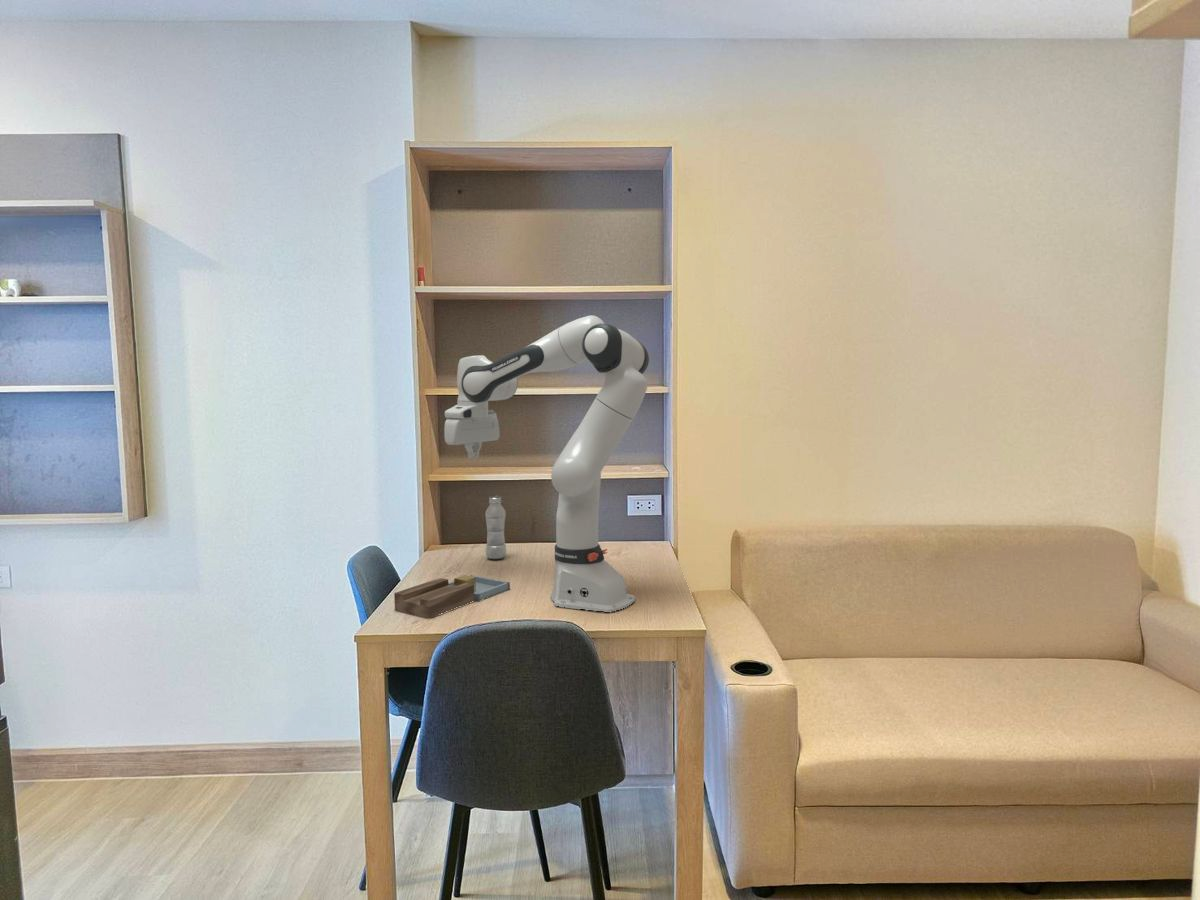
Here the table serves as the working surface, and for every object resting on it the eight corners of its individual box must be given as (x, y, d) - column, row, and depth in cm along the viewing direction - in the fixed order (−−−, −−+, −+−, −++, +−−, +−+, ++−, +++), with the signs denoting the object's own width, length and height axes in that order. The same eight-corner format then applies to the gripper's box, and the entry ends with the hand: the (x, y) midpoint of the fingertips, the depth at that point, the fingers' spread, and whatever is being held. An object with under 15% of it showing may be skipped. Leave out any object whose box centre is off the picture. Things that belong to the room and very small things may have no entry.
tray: (509, 589, 204) (509, 582, 203) (477, 601, 193) (477, 594, 192) (471, 581, 211) (471, 574, 211) (438, 593, 200) (438, 586, 200)
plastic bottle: (481, 559, 236) (480, 497, 234) (495, 555, 241) (494, 494, 239) (496, 562, 232) (495, 499, 230) (510, 558, 238) (509, 496, 236)
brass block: (465, 595, 197) (475, 591, 200) (465, 580, 197) (475, 577, 200) (454, 592, 199) (464, 589, 202) (454, 578, 199) (464, 574, 202)
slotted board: (474, 601, 193) (473, 584, 192) (429, 618, 179) (428, 600, 179) (440, 594, 199) (440, 577, 199) (394, 610, 186) (394, 593, 185)
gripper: (488, 409, 227) (488, 454, 228) (440, 412, 209) (441, 460, 211) (504, 409, 223) (504, 455, 225) (456, 412, 206) (457, 462, 208)
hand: (473, 458), depth 218 cm, fingers closed
